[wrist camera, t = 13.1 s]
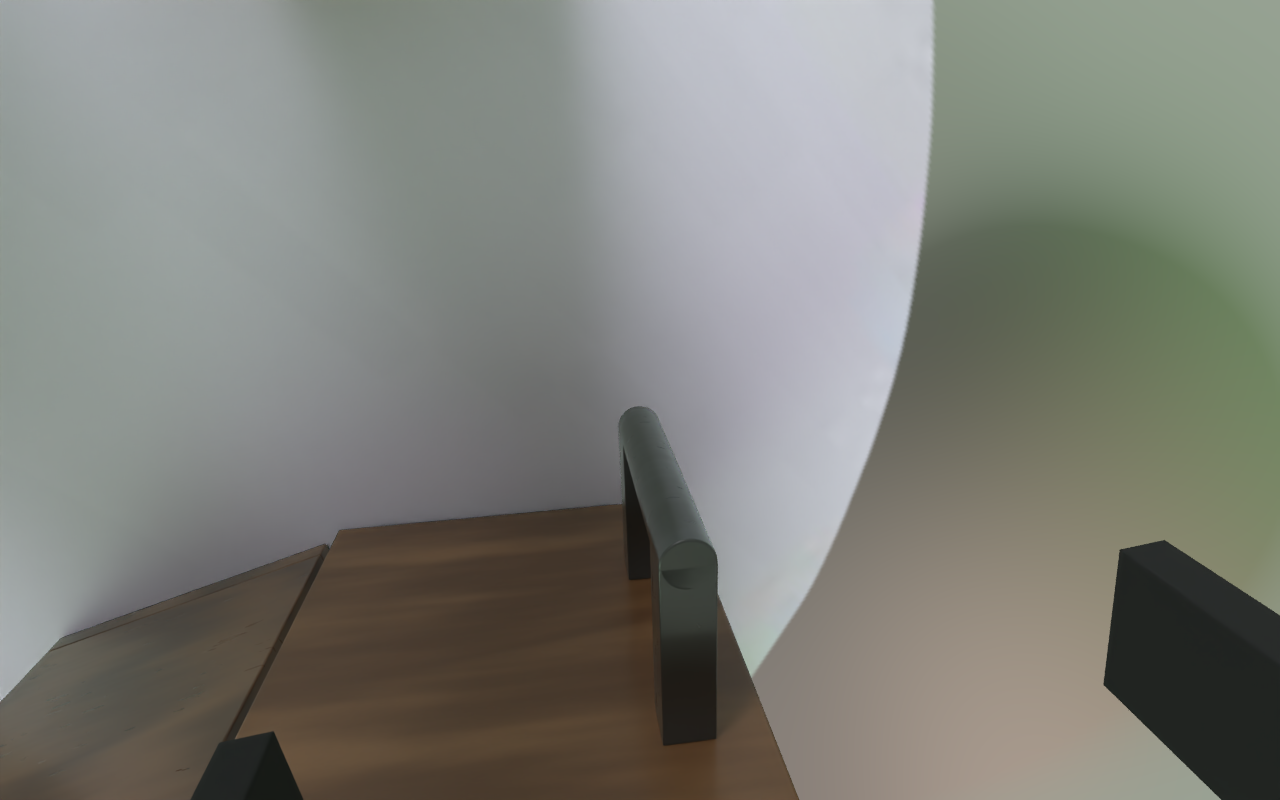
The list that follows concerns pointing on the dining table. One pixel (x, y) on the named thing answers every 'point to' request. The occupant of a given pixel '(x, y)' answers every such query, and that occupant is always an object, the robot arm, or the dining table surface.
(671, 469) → the cupboard door
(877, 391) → the dining table surface
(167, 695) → the cupboard
